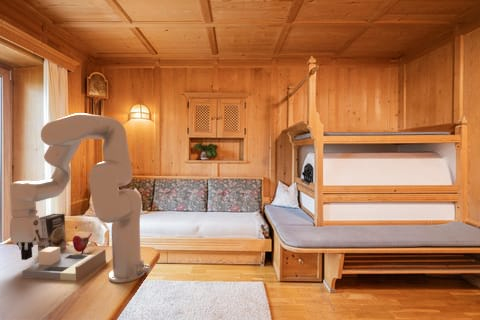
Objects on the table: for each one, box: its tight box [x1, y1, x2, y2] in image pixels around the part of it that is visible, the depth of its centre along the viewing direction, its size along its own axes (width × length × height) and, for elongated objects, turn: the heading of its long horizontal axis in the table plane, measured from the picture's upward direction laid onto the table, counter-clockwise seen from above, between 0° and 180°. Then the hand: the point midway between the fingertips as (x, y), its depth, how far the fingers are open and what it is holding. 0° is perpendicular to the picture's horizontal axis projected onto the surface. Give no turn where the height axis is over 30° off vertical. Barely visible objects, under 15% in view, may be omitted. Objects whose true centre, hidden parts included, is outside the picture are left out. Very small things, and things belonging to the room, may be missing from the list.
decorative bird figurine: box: [72, 232, 93, 254], centre depth 121 cm, size 3×18×10 cm, turn 5°
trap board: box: [22, 249, 107, 281], centre depth 106 cm, size 22×16×5 cm
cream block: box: [37, 247, 62, 265], centre depth 107 cm, size 5×5×5 cm
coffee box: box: [37, 213, 67, 253], centre depth 124 cm, size 9×6×16 cm
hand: (26, 258), depth 108 cm, fingers closed
